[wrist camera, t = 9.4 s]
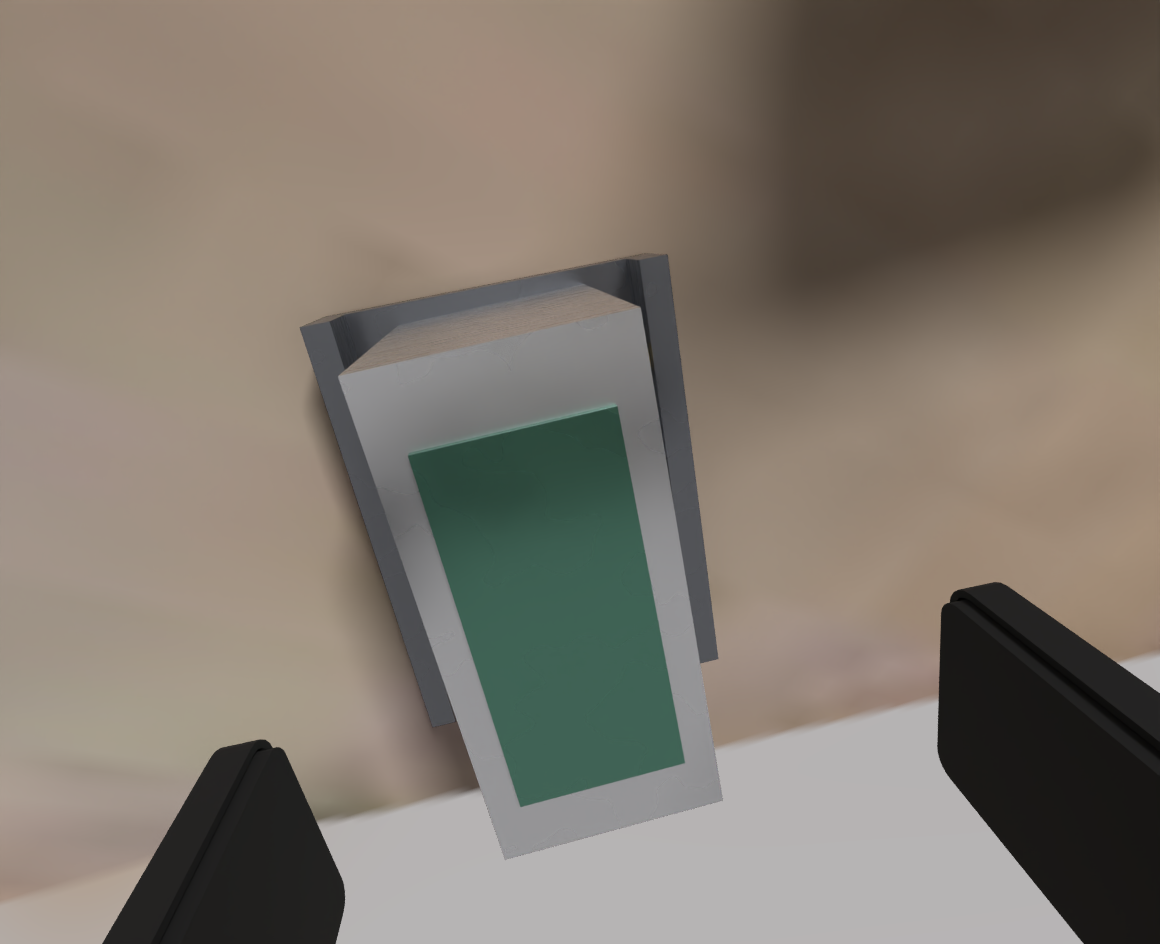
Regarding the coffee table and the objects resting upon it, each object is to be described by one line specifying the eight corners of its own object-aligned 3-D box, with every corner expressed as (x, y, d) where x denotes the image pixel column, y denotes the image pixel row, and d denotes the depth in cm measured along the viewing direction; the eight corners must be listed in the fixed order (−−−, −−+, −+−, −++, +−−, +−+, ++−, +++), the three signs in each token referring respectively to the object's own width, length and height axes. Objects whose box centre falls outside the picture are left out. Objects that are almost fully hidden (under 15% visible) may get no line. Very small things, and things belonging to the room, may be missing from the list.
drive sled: (645, 253, 18) (667, 254, 15) (694, 616, 22) (718, 658, 20) (324, 316, 17) (299, 327, 15) (438, 676, 21) (432, 727, 19)
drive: (583, 283, 17) (642, 307, 10) (650, 626, 21) (725, 805, 14) (398, 325, 17) (335, 377, 10) (500, 664, 21) (505, 865, 14)
